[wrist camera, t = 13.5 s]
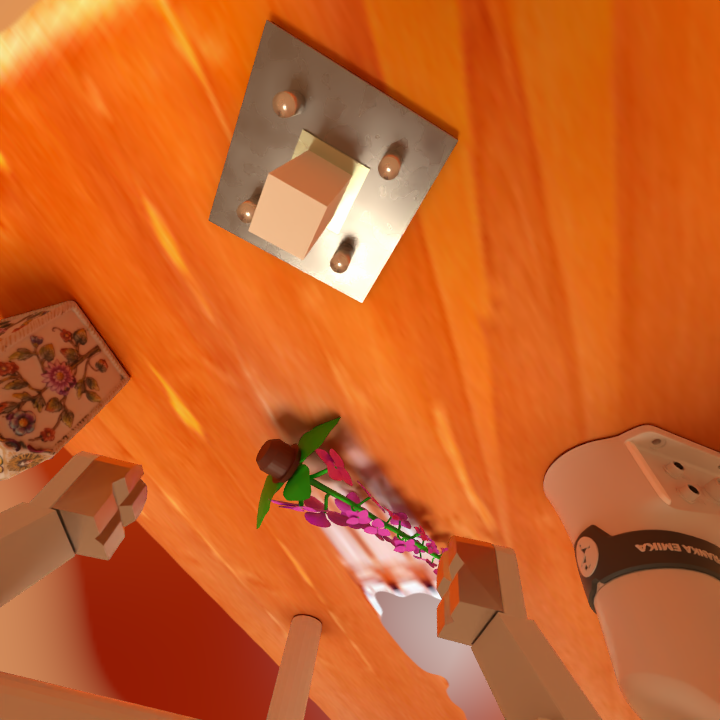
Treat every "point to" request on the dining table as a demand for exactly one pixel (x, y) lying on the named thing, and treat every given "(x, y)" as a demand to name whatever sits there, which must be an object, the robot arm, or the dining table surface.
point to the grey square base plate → (329, 158)
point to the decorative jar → (50, 382)
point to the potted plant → (328, 492)
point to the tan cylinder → (296, 670)
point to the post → (299, 203)
